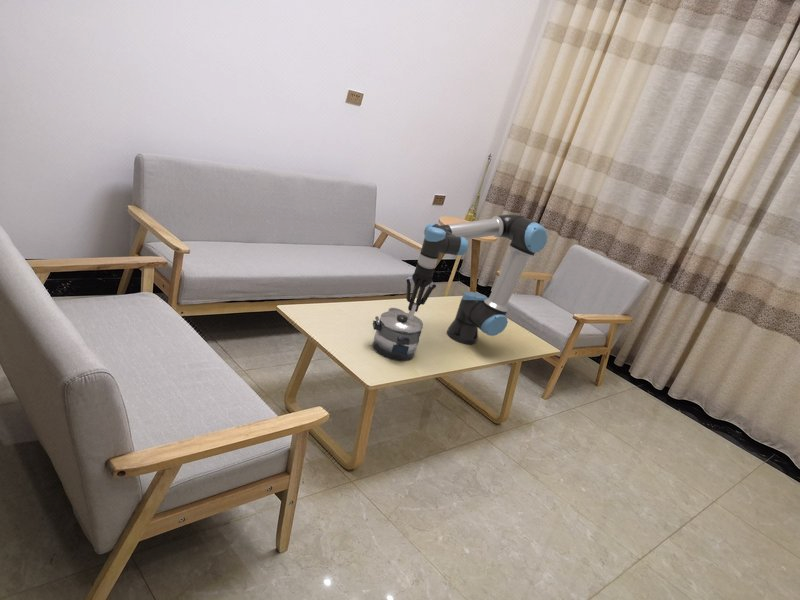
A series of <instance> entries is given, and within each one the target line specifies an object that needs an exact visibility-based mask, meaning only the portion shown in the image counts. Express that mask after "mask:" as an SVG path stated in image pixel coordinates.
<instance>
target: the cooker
mask: <svg viewBox="0 0 800 600" xmlns="http://www.w3.org/2000/svg"><path fill="white" fill-rule="evenodd" d="M372 327H373V330H375V333H374V337H373V343H372V348H373V350H374V351H375V352H376V353H378V354H379V355H380V356H382V357H384V358H386V359H389V360H393V361H398V362H406V361H407V362H408V361H411V360H412V359H413V358H414V356H415V353H416V351H417V350H418V346H419V342H420V337H421V334H422V330H421V331H419V332H416V333H401V332H396V331H393V330H390V329H388V328H386V327H385V326H383V325H382V324H381V322H380V325H379V326H378V325H377V323H376V320H372Z"/></svg>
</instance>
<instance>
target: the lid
mask: <svg viewBox="0 0 800 600" xmlns="http://www.w3.org/2000/svg"><path fill="white" fill-rule="evenodd" d="M408 314H409V312H405V311H404V312H400V311H388V310H387V311H384V312H382V313H381V314H380V316H375V321H376V323H377V325H378V326H379V325H380V322H381V324H382V325H383V326H385V327H386V328H388V329H390V330H393V331H396V332H401V333H416V332H419V331H421V332H422V329H423V326H424V322H423V321H422V320H421V318H419V317H418V316H416V315H414V316H413V319H409V317H408ZM379 317H380V318H379Z"/></svg>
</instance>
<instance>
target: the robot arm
mask: <svg viewBox="0 0 800 600" xmlns="http://www.w3.org/2000/svg"><path fill="white" fill-rule="evenodd" d="M423 233H424V239H423V241H422V246H421V248H420V253H419V257H418V259H417V263H416V266H415V268H414V272H413V274H412V275H411V277H410V276H409V277H408V276H407V277H406V278H405V281H406V301H407V302H409V303H408V307H407V308H408V311H409V312H408V313H409V314H408V317H409V319H413V316H415V313H417V312H418V310H419V307H420V306H421V305H425V304H426V302H427V300H428V298H429V296H430V295H431V294H432V292H433V290H434V289H436V288H437V285H436V283H435V282H433V276H434V273H435V268H436V267H437V263H438V260H439V257H440V254H445V255H451V256H452V255H453V256H464V255H465V254H466V253H467V251H468V249H469V242H468V240H473V239H479V238H480V239H481V238H485V237H495V238H505V239H508V240H509V241H510V242H509V246H508V247H509V248H510V252H509V253H508V255H507V258H506V260H505V262H504V264H503V266H502V269H501V271H500V273H499V274H498V277H497V280H496V282H495V284H494V286H493V288H492V290H491V293H490V294H489V297H487V295H484V294H482V293H480V292H474V291H466V292H464V293H463V295H462V297H461V300H460V302H459V306H458V309H457V311H456V314H455V318H454V320H453V321H452V322H451V323H450V325H449V326H448V327H447V330H446V335H447V336H448V337H450V338H451V339H452V340H454V341H456V342H459V343H462V344H466V345H474V344H476V343H477V342H478V339H479V338H478V336H479V335H478V334H479V330H480V331H481V332H482V333H485V334H486V335H487V336H490V337H491V336H492V337H494V336H497V335H499V334H501V333H502V332H504V330H505V329H506V328H507V326H508V321H509V320H508V318H507V313H508V311H509V310H508V307H507V305H508V303H509V301H510V300H511V296H512V295H513V293H514V291H515V288H516V286H517V285H518V281H519V279H520V278H521V275H522V273H523V272H524V270H525V267H526V264H527V263H528V261H529V259H531V258H532V257H534V256H535V254H537V253H539V252H541V251H542V250H543V249H544V248H545V246H546V244H547V242H548V233H547V230H546V228H545V227H544V226H543V225H541V224H539V223H538V222H535V221H534V220H531V219H529V218H527V217H525V216H523V215H519V214H501V215H494V216H492V218H488V219H487V218H486V219H480V220H479V219H478V220H472V221H465V222H457V223H449V224H441V225H440V224H438V223H434V222H430V223H428V224H427V225H426V226H425V227H424V231H423ZM412 282H413V285H414V286H413V289H412V288H411V286H412V285H411V284H412ZM426 288H427V289H426ZM411 289H412V290H411ZM425 290H426V291H425ZM424 291H425V292H424ZM411 292H412V293H411ZM417 294H418V295H417ZM415 301H416V302H415Z"/></svg>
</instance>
